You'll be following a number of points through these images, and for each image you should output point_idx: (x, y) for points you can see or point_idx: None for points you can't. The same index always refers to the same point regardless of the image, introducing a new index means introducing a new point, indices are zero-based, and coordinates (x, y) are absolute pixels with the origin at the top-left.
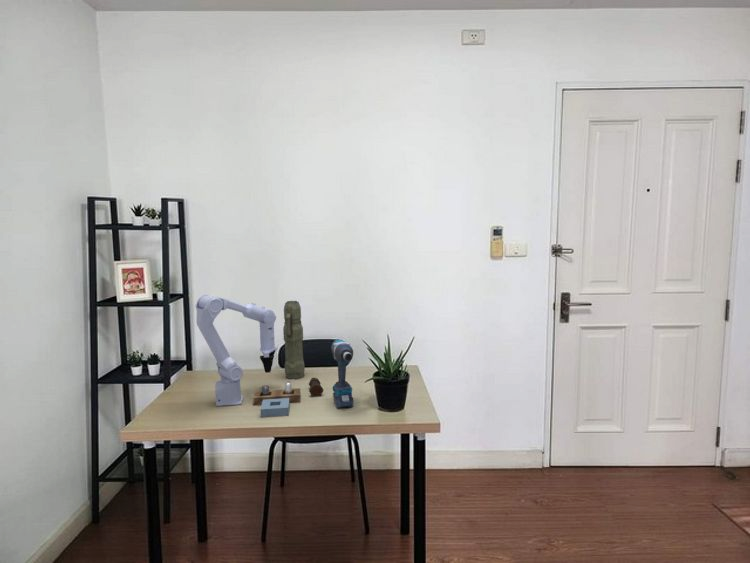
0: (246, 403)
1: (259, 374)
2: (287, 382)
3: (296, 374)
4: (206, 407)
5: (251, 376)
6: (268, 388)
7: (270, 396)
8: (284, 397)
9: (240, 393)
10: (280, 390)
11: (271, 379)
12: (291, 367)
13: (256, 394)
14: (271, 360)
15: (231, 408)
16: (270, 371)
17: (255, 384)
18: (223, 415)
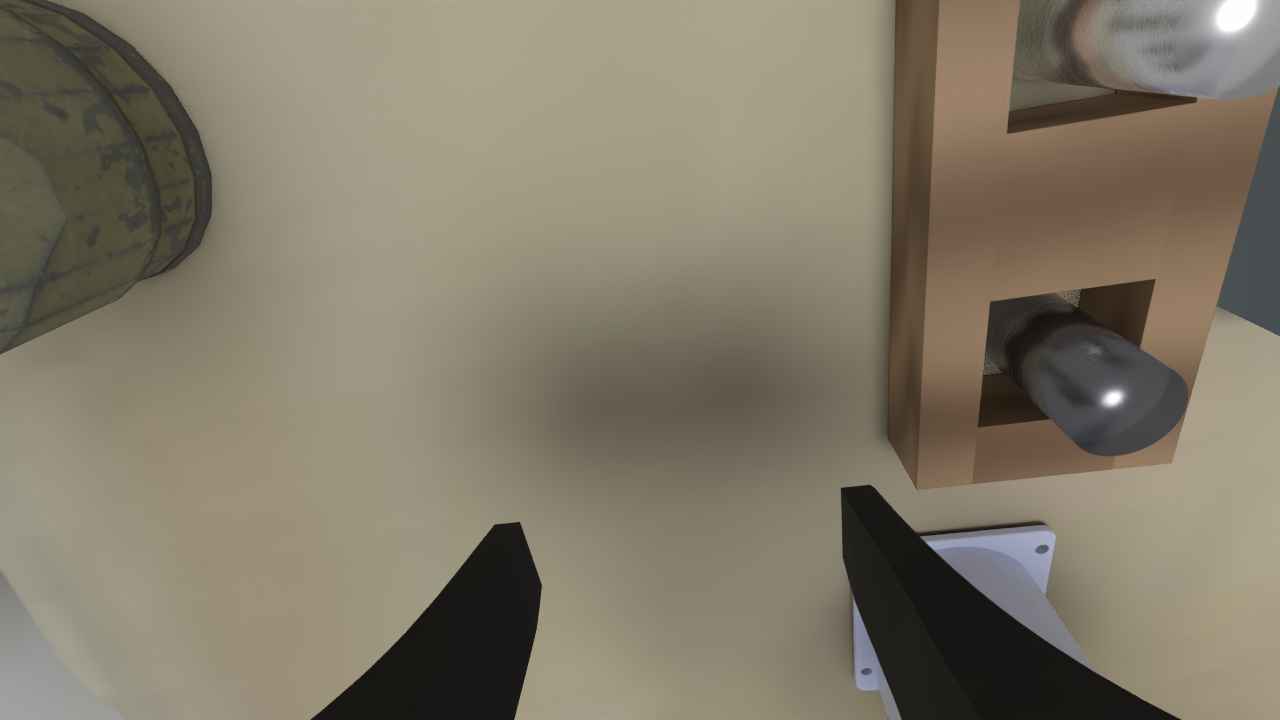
0: (1022, 483)
1: (168, 549)
2: (1236, 35)
3: (116, 104)
4: None
5: (250, 596)
6: (1148, 355)
7: (1207, 274)
8: None
9: (998, 602)
10: (976, 185)
11: (281, 413)
12: (55, 209)
13: (1052, 454)
14: (1126, 708)
15: (1116, 565)
16: (878, 493)
17: (468, 522)
18: (1274, 582)
